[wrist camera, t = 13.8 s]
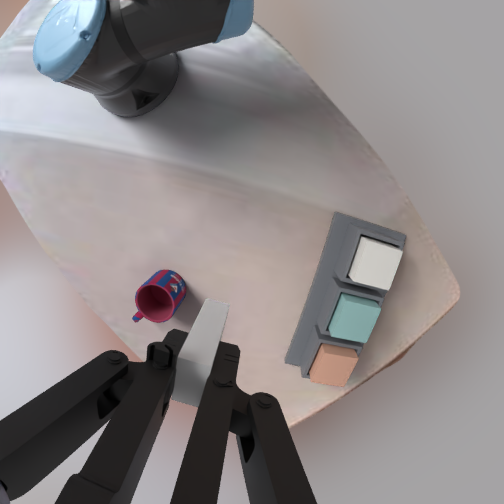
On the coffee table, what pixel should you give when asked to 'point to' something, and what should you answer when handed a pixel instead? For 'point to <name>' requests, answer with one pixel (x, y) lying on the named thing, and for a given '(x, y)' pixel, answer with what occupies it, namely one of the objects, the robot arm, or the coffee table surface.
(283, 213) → the coffee table surface
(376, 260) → the ivory key
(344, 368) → the terracotta key
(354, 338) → the teal key
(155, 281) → the mug
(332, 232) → the console
